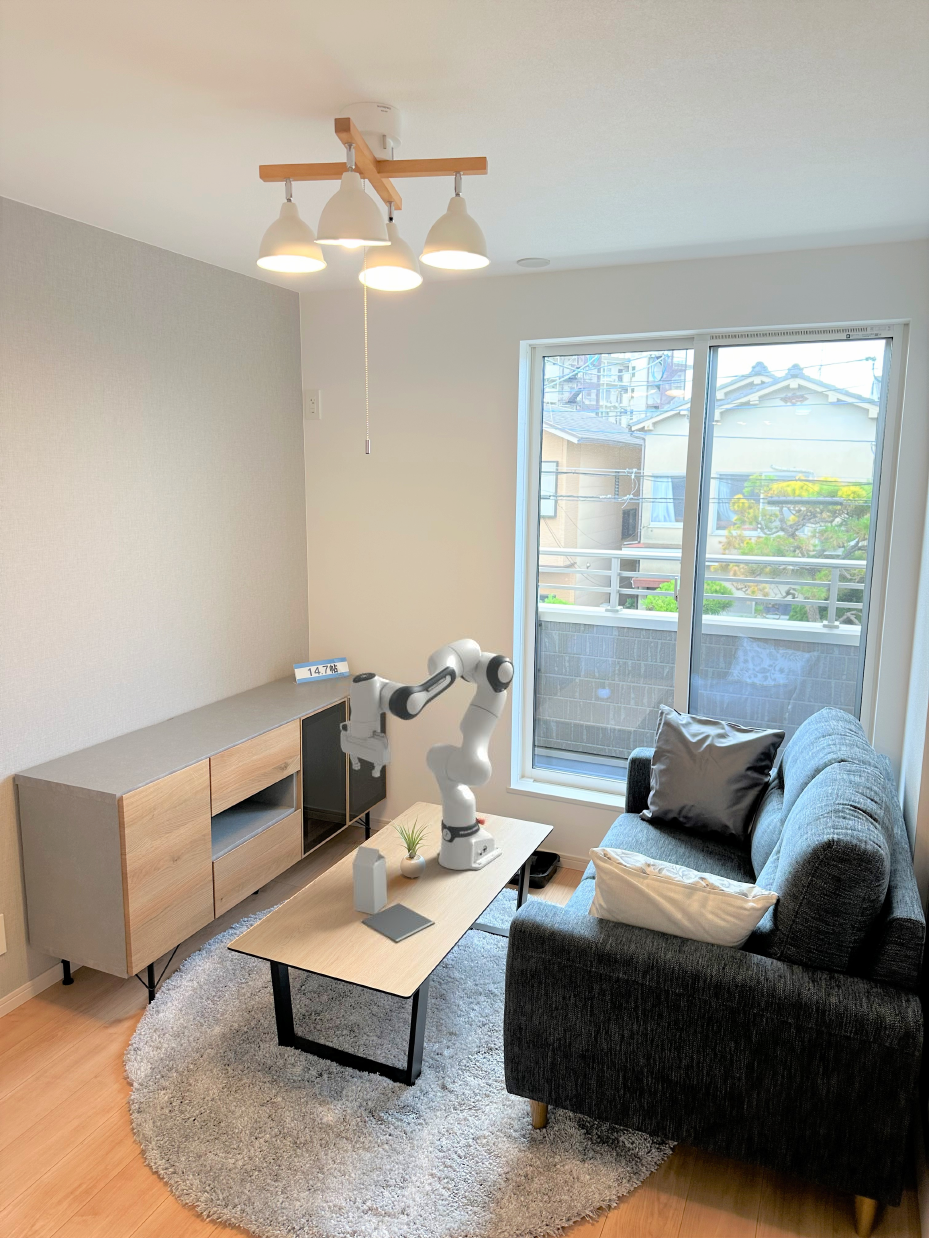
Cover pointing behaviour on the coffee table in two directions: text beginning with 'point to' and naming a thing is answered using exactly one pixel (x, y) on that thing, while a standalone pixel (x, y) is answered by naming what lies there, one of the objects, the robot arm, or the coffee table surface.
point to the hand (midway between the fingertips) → (366, 772)
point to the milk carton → (369, 880)
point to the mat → (398, 922)
